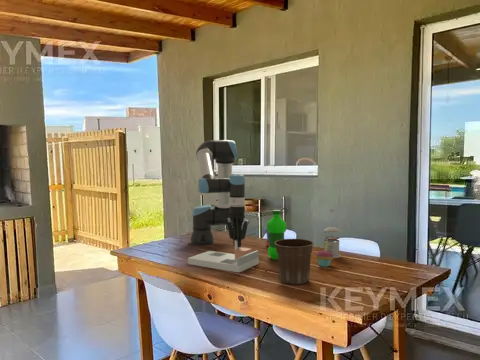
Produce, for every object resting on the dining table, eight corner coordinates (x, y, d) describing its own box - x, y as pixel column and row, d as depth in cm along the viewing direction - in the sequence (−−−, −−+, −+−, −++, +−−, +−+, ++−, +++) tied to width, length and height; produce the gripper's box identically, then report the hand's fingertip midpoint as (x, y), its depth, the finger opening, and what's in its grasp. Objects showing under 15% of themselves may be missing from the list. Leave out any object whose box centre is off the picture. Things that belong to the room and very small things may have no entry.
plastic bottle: (290, 257, 197) (290, 210, 196) (278, 261, 189) (278, 212, 188) (275, 254, 204) (275, 208, 203) (263, 258, 196) (262, 210, 195)
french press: (330, 258, 194) (330, 210, 194) (316, 254, 205) (316, 208, 204) (345, 256, 199) (345, 209, 198) (331, 252, 209) (331, 207, 208)
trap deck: (187, 263, 187) (187, 250, 187) (209, 256, 202) (209, 244, 202) (239, 272, 171) (239, 258, 171) (258, 263, 186) (258, 250, 186)
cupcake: (321, 262, 188) (321, 238, 187) (337, 265, 182) (337, 240, 181) (311, 265, 182) (311, 240, 181) (327, 268, 176) (327, 243, 175)
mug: (261, 246, 226) (261, 228, 226) (271, 243, 233) (271, 226, 232) (277, 249, 218) (277, 230, 217) (287, 246, 224) (287, 228, 224)
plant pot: (287, 288, 148) (287, 248, 148) (267, 277, 163) (267, 240, 162) (321, 283, 155) (321, 244, 154) (300, 273, 170) (299, 237, 169)
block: (234, 258, 184) (234, 249, 184) (241, 256, 189) (241, 247, 189) (245, 260, 181) (245, 251, 181) (251, 257, 186) (251, 248, 186)
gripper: (222, 205, 186) (222, 253, 187) (244, 207, 180) (244, 256, 181) (230, 204, 193) (230, 250, 194) (252, 205, 186) (252, 253, 187)
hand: (237, 253), depth 187 cm, fingers closed
